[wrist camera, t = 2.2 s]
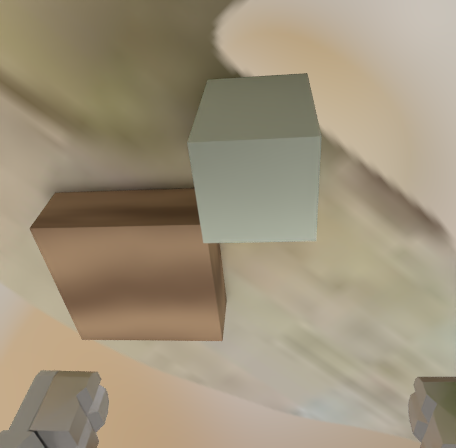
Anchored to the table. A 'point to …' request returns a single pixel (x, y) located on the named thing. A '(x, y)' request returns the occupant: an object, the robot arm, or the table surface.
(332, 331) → the table surface
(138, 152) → the table surface
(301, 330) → the table surface
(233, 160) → the sage block
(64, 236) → the walnut block
